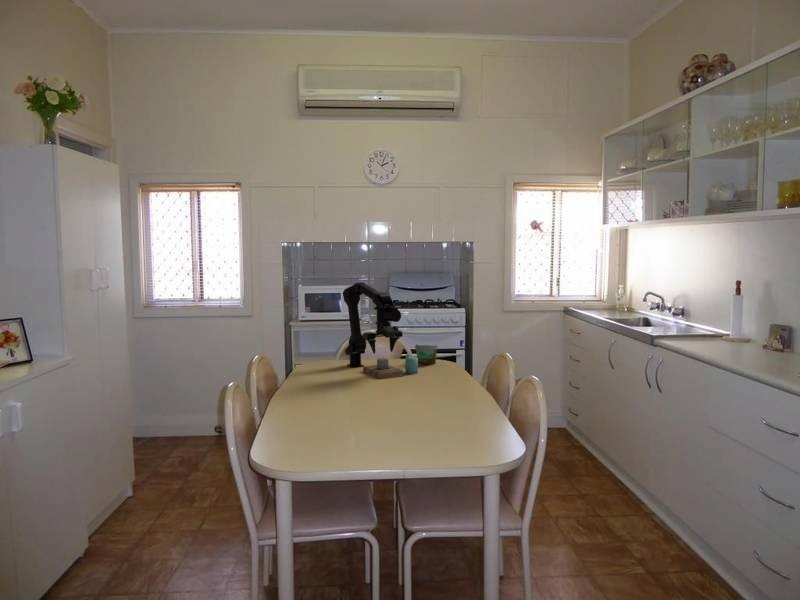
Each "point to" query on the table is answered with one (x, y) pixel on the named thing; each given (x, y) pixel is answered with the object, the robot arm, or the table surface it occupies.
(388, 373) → the bore block
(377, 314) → the robot arm
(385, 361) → the square bit
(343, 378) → the table surface
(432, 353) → the food container
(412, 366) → the round bit
